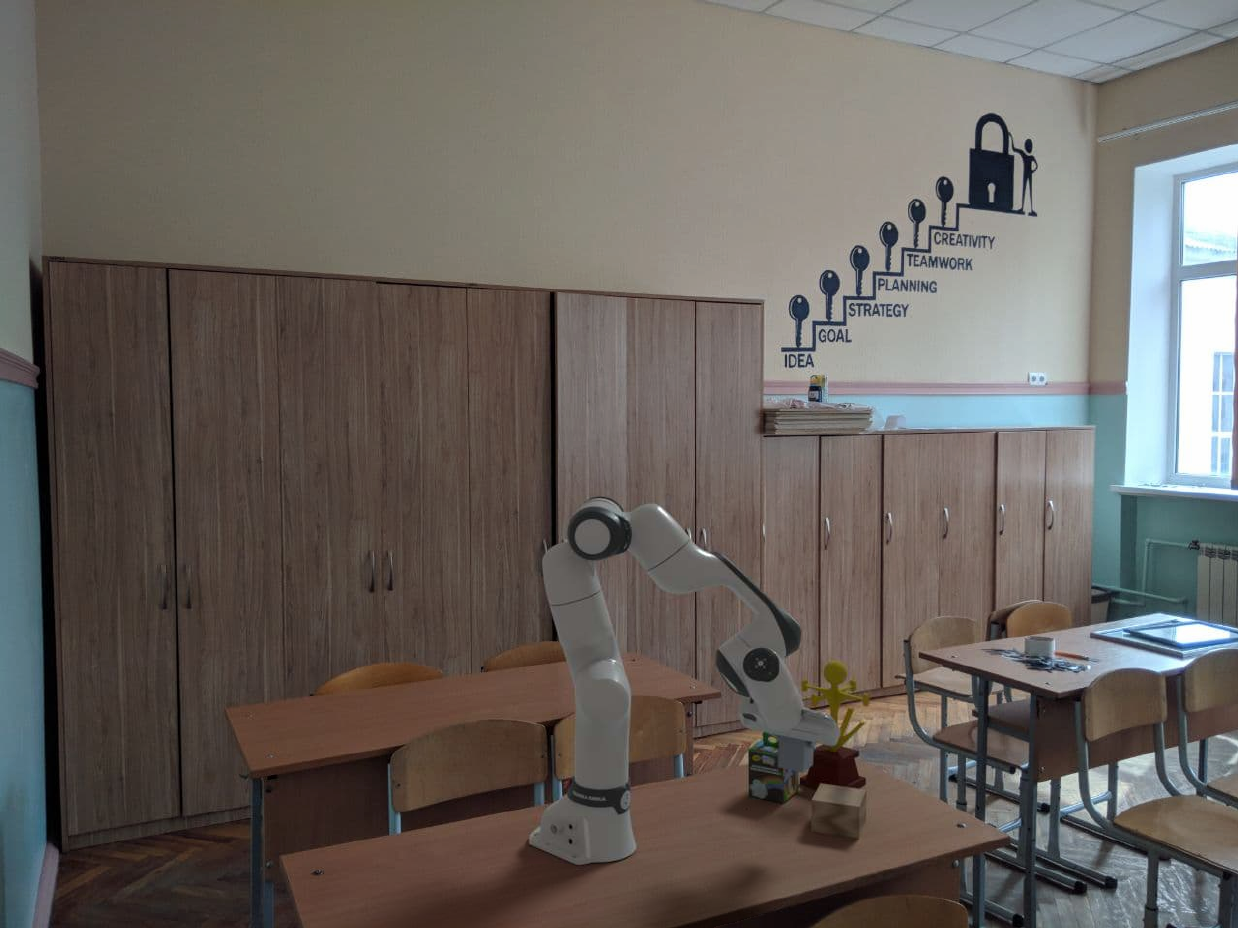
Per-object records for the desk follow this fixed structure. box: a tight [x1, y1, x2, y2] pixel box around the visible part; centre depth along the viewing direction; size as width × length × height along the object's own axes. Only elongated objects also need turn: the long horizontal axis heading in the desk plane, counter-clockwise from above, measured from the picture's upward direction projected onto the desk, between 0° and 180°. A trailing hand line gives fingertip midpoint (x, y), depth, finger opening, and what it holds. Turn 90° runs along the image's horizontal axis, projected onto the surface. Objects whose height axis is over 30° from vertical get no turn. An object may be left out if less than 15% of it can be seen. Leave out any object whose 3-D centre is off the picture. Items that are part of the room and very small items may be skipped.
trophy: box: [799, 660, 870, 791], centre depth 236 cm, size 14×16×30 cm
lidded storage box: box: [778, 735, 814, 774], centre depth 204 cm, size 6×6×9 cm
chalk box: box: [747, 732, 799, 805], centre depth 230 cm, size 9×9×15 cm
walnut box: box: [810, 783, 867, 840], centre depth 212 cm, size 10×10×7 cm
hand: (797, 741), depth 205 cm, fingers closed on lidded storage box, 5 cm apart
